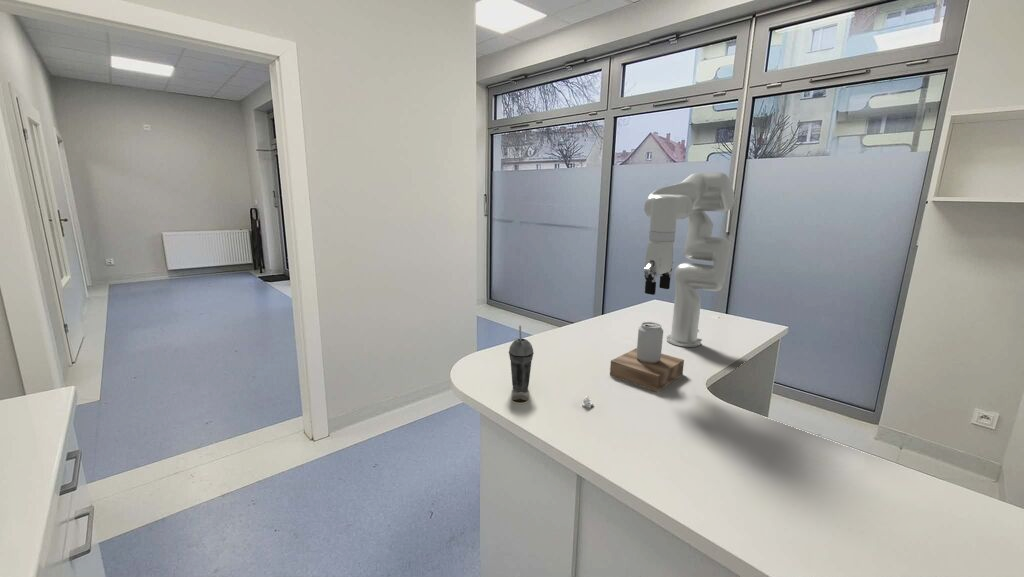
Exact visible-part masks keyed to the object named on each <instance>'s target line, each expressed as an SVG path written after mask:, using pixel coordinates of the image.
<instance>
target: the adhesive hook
mask: <svg viewBox="0 0 1024 577" xmlns="http://www.w3.org/2000/svg"><path fill="white" fill-rule="evenodd" d="M591 401H592V400H591V397H589V395H585V398H584V399H583V404H581V405H582V407H586V408H590V409H591V408H592V407H595V404H594V403H592V402H591Z"/></svg>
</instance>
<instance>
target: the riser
mask: <svg viewBox="0 0 1024 577" xmlns="http://www.w3.org/2000/svg"><path fill="white" fill-rule="evenodd" d="M636 353H637V347H636V348H634V349H632V350H630V351H628V352H625V353H624V354H622V355H619V356H617V357H616V358H613V359H611V360H610V368H609V376H611V377H613V378H617V379H620V380H622V381H625V382H628V383H631V384H633V385H636V386H639V387H641V388H645V389H647V390H650V391H653V392H659V391H660V390H662V389H663V388H665V387H667V385H669V384H671V383H672V382H673V381H675V380H676V379H678V378H680V377H681V376H682V375H683V372H684V367H685V366H684V364H685V359H683V358H679V357H675V356H672V355H668V354H664V353H662V352H661V359H660V360H659V361H658V362H657V363H644V362H642V361H640V360H639V359H638V358H637V357H636Z"/></svg>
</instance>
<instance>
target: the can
mask: <svg viewBox="0 0 1024 577" xmlns="http://www.w3.org/2000/svg"><path fill="white" fill-rule="evenodd" d="M637 332H638V333H637V343H636V344H637V345H636V348H637V353H636V357H637V358H638V359H639V360H640V361H642V362H644V363H657V362H658V361H659V360H660V359H661V353H662V350H663V349H662V346H663V338H664V329H663V328H662V325H661V324H660V323H658V322H652V321H644V322H642V323H640V326H639V327H638V331H637Z"/></svg>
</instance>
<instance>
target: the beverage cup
mask: <svg viewBox="0 0 1024 577" xmlns="http://www.w3.org/2000/svg"><path fill="white" fill-rule="evenodd" d="M518 328H519V329H518V331H519V338H517V339H515V340H513V341H512V342H511V343H510V345H509V349H508V350H509V351H508V354H509V355H508V356H509V359H510V368H511V369H510V371H511V384H512V385H511V386H512V390H513V392H516V393H519V392H521V393H522V392H523V393H526V392H527V391H528V390H529V386H530V378H531V369H532V360H533V358H534V349H533V345H532V344H531V342H530V341H529V340H528V339H526V338H522V325H518Z"/></svg>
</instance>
